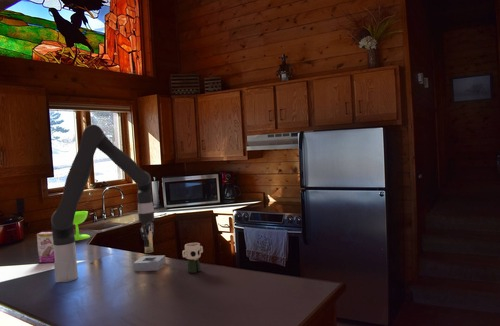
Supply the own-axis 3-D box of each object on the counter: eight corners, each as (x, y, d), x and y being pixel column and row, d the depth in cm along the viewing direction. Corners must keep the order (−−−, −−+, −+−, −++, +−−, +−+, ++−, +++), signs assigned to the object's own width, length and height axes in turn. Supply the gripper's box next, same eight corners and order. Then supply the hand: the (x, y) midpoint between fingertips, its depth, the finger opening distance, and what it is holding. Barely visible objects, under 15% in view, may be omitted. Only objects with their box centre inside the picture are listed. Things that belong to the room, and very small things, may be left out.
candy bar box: (38, 263, 220) (35, 234, 220) (43, 260, 225) (41, 232, 225) (57, 262, 219) (54, 233, 218) (62, 260, 224) (60, 231, 223)
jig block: (157, 270, 192) (157, 262, 192) (134, 271, 193) (133, 263, 193) (165, 263, 204) (165, 255, 204) (143, 263, 205) (142, 256, 205)
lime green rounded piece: (60, 240, 277) (58, 215, 276) (76, 235, 292) (74, 211, 292) (79, 241, 273) (77, 215, 272) (94, 235, 288) (92, 211, 287)
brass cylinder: (151, 252, 196) (150, 232, 196) (143, 253, 197) (142, 233, 196) (154, 250, 200) (152, 231, 200) (146, 251, 201) (145, 231, 200)
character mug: (188, 276, 180) (186, 248, 179) (180, 273, 185) (178, 245, 185) (208, 270, 187) (206, 243, 186) (200, 267, 192) (198, 240, 192)
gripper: (148, 213, 190) (150, 249, 191) (157, 208, 204) (160, 241, 205) (133, 214, 191) (135, 249, 192) (143, 209, 205) (146, 242, 206)
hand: (148, 245), depth 198 cm, fingers closed on brass cylinder, 4 cm apart
